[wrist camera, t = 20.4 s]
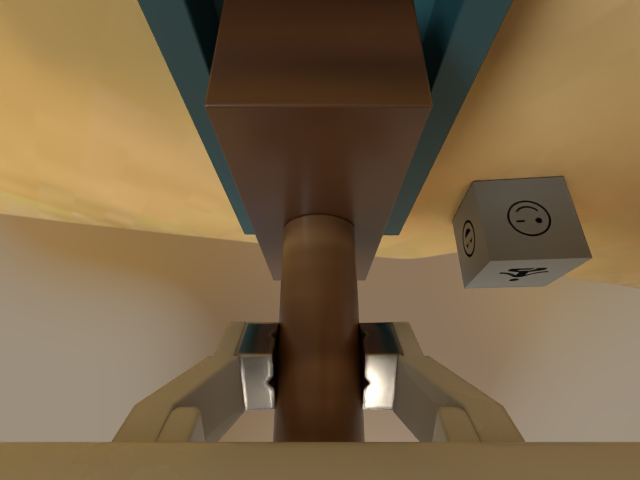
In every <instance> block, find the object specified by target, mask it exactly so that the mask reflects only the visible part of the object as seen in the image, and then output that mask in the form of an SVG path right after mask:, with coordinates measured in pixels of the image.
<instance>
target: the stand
mask: <svg viewBox="0 0 640 480" xmlns="http://www.w3.org/2000/svg"><path fill="white" fill-rule="evenodd" d="M413 1H414V6H415V12H416V17H417V22H418V28H419V33H420V39H421V44H422V49H423V55H424V60H425V66H426V71H427V76H428V82H429V87H430V93H431V98H432V104H433V106H432V109H431V112H430V114H429V117H428V119H427V122H426V124H425V127H424V130H423V132H422V135H421V137H420V140H419V143H418V145H417V148H416V150H415V153H414V156H413V158H412V161H411V163H410V166H409V168H408V171H407V174H406V176H405V179H404V181H403V184H402V187H401V189H400V192H399V194H398V197H397V199H396V202H395V205H394V207H393V210H392V212H391V215H390V218H389V220H388V223H387V225H386V228H385V230H384V233H383V235H399V234H400V231H401V229H402V227H403V225H404V223H405V221H406V219H407V217H408V215H409V213H410V211H411V209H412V207H413V205H414V203H415V201H416V199H417V197H418V194H419V192H420V190H421V188H422V186H423V184H424V182H425V180H426V178H427V176H428V174H429V172H430V170H431V168H432V166H433V164H434V162H435V160H436V157H437V155H438V153H439V151H440V149H441V147H442V145H443V143H444V141H445V139H446V137H447V135H448V133H449V131H450V129H451V127H452V125H453V123H454V120H455V118H456V116H457V114H458V112H459V110H460V108H461V106H462V104H463V102H464V100H465V98H466V96H467V94H468V92H469V90H470V88H471V85H472V83H473V81H474V79H475V77H476V75H477V73H478V71H479V69H480V67H481V65H482V63H483V61H484V59H485V57H486V55H487V53H488V51H489V48H490V46H491V44H492V42H493V40H494V38H495V36H496V34H497V32H498V30H499V28H500V26H501V24H502V22H503V20H504V18H505V16H506V14H507V11H508V9H509V7H510V5H511V3H512V1H513V0H413ZM138 2H139V5H140V7H141V9H142V11H143V13H144V16H145V18H146V20H147V22H148V24H149V26H150V29H151V31H152V33H153V35H154V37H155V40H156V42H157V44H158V46H159V48H160V50H161V53H162V55H163V57H164V59H165V61H166V64H167V66H168V68H169V70H170V72H171V74H172V77H173V79H174V81H175V83H176V85H177V88H178V90H179V92H180V94H181V96H182V98H183V101H184V103H185V105H186V107H187V109H188V112H189V114H190V116H191V118H192V120H193V122H194V125H195V127H196V129H197V131H198V133H199V135H200V138H201V140H202V142H203V144H204V146H205V149H206V151H207V153H208V155H209V157H210V159H211V162H212V164H213V166H214V168H215V170H216V173H217V175H218V177H219V179H220V181H221V183H222V186H223V188H224V190H225V192H226V194H227V197H228V199H229V201H230V203H231V205H232V207H233V210H234V212H235V214H236V216H237V218H238V221H239V223H240V225H241V227H242V229H243V231H244V234H255V232H254V230H253V227H252V225H251V222H250V220H249V217H248V215H247V212H246V210H245V207H244V205H243V202H242V200H241V197H240V194H239V192H238V189H237V187H236V184H235V182H234V179H233V177H232V174H231V172H230V169H229V167H228V164H227V162H226V159H225V157H224V154H223V152H222V149H221V147H220V144H219V142H218V139H217V136H216V134H215V131H214V129H213V126H212V124H211V121H210V119H209V116H208V114H207V111H206V109H205V106H204V104H205V99H206V93H207V88H208V83H209V77H210V72H211V67H212V62H213V56H214V51H215V46H216V41H217V35H218V30H219V25H220V20H221V14H222V9H223V4H224V0H138Z"/></svg>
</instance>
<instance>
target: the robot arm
mask: <svg viewBox="0 0 640 480" xmlns="http://www.w3.org/2000/svg"><path fill="white" fill-rule="evenodd" d="M278 339H279V322H230V323H228V325H227V327H226V329H225V331H224V334H223V336H222V338H221V341H220V343H219V345H218V347H217V350H216V352H215V354H214V356H208V357H207V358H205V359H204V360H202V361H201V362H199V363H198V364H196V365H195V366H193V367H191V368H190V369H188V370H187V371H185V372H184V373H182V374H181V375H179V376H178V377H177V378H175V379H173V380H172V381H170V382H169V383H167V384H166V385H164V386H163V387H161V388H160V389H158V390H157V391H155V392H154V393H152V394H151V395H149V396H148V397H146V398H145V399H143V400H142V401H140V402H139V403H137V404H136V405H135V406H134V407H133V409H132V410H131V412H130V413H129V415H128V417H127V418H126V420H125V421H124V423H123V424H122V426H121V427H120V429H119V431H118V432H117V434H116V435H115V437H114V439H113V440H112V442H0V480H640V442H525V440H524V439H523V437H522V436H521V434H520V432H519V431H518V429H517V427H516V426H515V424H514V423H513V421H512V419H511V418H510V416H509V415H508V413H507V411H506V410H505V408H504V407H503V405H501V404H500V403H498V402H497V401H495V400H494V399H492V398H491V397H489V396H488V395H486V394H485V393H483V392H482V391H480V390H479V389H477V388H476V387H474V386H473V385H471V384H470V383H468V382H467V381H465V380H464V379H462V378H461V377H459V376H458V375H456V374H455V373H453V372H452V371H451V370H449V369H448V368H446V367H445V366H443V365H442V364H440V363H438V362H437V361H436V360H434V359H433V358H431V357H430V356H424V355H423V353H422V350H421V348H420V346H419V343H418V341H417V339H416V337H415V334H414V332H413V330H412V327H411V325H410V323H409V322H384V323H359V340H360V355H361V382H362V402H363V409H378V410H393V411H394V413H395V414H396V415H397V416H398V417H399V418H400V420H401V421H402V422H403V423H404V424H405V425H406V426H407V428H408V429H409V430H410V431H411V432H412V433H413V434H414V436H415V437H416V438H417V439H418V440H419V441H420V442H218V441H219V440H220V439H221V438H222V437H223V435H224V434H225V433H226V432H227V431H228V430H229V429H230V427H231V426H232V425H233V424H234V423H235V422H236V421H237V420H238V418H239V417H240V416H241V415H242V414H243V413H244V410H259V409H275V399H276V380H277V354H278Z"/></svg>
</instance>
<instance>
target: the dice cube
mask: <svg viewBox="0 0 640 480" xmlns="http://www.w3.org/2000/svg"><path fill="white" fill-rule="evenodd" d="M452 222H453V227H454V233H455V239H456V244H457V250H458V255H459V261H460V266H461V272H462V278H463V283H464V288H500V287H538V286H546V285H548V284H549V283H551V282H553V281H554V280H556V279H558V278H559V277H561V276H563V275H564V274H566V273H568V272H569V271H571V270H573V269H574V268H576V267H578V266H579V265H581V264H583V263H584V262H586V261H588V260H589V259H591V258H592V255H591V253H590V250H589V247H588V244H587V241H586V238H585V236H584V233H583V230H582V227H581V224H580V221H579V219H578V216H577V213H576V210H575V207H574V204H573V202H572V199H571V196H570V193H569V190H568V187H567V185H566V182H565V179H564V177H547V178H529V179H511V180H493V181H475V182H473V183H472V185H471V187H470V189H469V190H468V192H467V194H466V196H465V198H464V200H463V202H462V204H461V206H460V208H459V210H458V211H457V213H456V215H455V217H454V219H453V221H452Z"/></svg>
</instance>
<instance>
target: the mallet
mask: <svg viewBox="0 0 640 480" xmlns="http://www.w3.org/2000/svg"><path fill="white" fill-rule="evenodd" d="M204 106H205V109H206V111H207V114H208V116H209V119H210V121H211V124H212V126H213V129H214V131H215V134H216V136H217V139H218V142H219V144H220V147H221V149H222V152H223V154H224V157H225V159H226V162H227V164H228V167H229V169H230V172H231V174H232V177H233V179H234V182H235V184H236V187H237V189H238V192H239V194H240V197H241V200H242V202H243V205H244V207H245V210H246V212H247V215H248V217H249V220H250V222H251V225H252V227H253V230H254V232H255V235H256V237H257V240H258V242H259V245H260V247H261V250H262V252H263V255H264V258H265V260H266V263H267V265H268V268H269V270H270V273H271V275H272V278H273V280H281V293H280V313H279V339H278V354H277V380H276V399H275V415H274V435H273V442H365V441H364V419H363V402H362V382H361V355H360V340H359V313H358V291H357V280H365V279H366V277H367V274H368V272H369V269H370V267H371V264H372V261H373V259H374V256H375V254H376V251H377V249H378V246H379V243H380V241H381V238H382V236H383V233H384V230H385V228H386V225H387V223H388V220H389V218H390V215H391V212H392V210H393V207H394V205H395V202H396V199H397V197H398V194H399V192H400V189H401V187H402V184H403V181H404V179H405V176H406V174H407V171H408V168H409V166H410V163H411V161H412V158H413V156H414V153H415V150H416V148H417V145H418V143H419V140H420V137H421V135H422V132H423V130H424V127H425V124H426V122H427V119H428V117H429V114H430V112H431V109H432V106H433V104H432V98H431V93H430V87H429V82H428V76H427V71H426V66H425V60H424V55H423V49H422V44H421V39H420V33H419V28H418V22H417V17H416V12H415V6H414V1H413V0H224V4H223V9H222V14H221V20H220V25H219V30H218V35H217V41H216V46H215V51H214V56H213V62H212V67H211V72H210V77H209V83H208V88H207V93H206V99H205V104H204Z"/></svg>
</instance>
